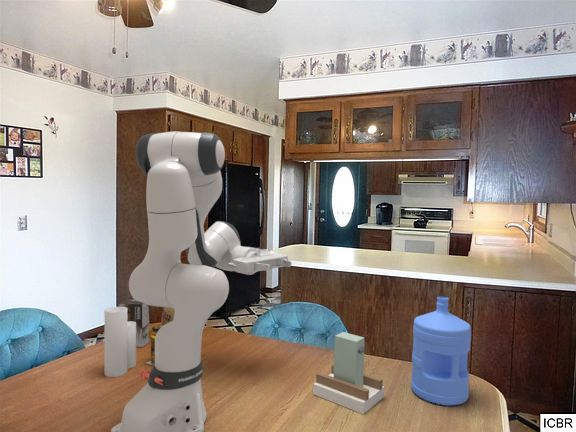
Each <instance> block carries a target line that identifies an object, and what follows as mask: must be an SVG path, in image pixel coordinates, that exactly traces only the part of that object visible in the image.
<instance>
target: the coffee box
mask: <svg viewBox="0 0 576 432" xmlns="http://www.w3.org/2000/svg"><path fill="white" fill-rule="evenodd" d="M118 307H126V308H127V322H129V321H133V322H136V348H144V347H145V346H146V345H147V344H149V343H151V335H150V305H148V304H145V303H142V302H140V301H137V300H135V299H134V298H133V299H129V298H127V299H126V300H123V301H122V302H120V303H119V305H118Z"/></svg>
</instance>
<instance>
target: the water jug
mask: <svg viewBox="0 0 576 432" xmlns="http://www.w3.org/2000/svg"><path fill="white" fill-rule="evenodd" d="M436 299H437V301H436V309H435V310H434V311H431V312H428V313H425V314H422V315H418V316H416V317H415V318H414V319H413V325H412V332H413V333H412V334H413V337H412V338H413V340H412V342H413V343H412V354H411V362H412V363H411V364H412V369H411V370H412V371H411V374H412V375H411V380H410V381H411V382H410V387H411V390H412V392H413V393H414V394H415V395H416V396H417V397H419V398H420V399H422V400H425V401H426V402H429V403H431V402H432V403H431V404H435V403H436V405H440V404H441V406H459V405H462V404H464V403H466V402H467V401H468V399H469V397H470V396H469V395H470V390H469V389H470V388H469V383H470V381H469V380H470V379H469V378H470V373H469V371H468V353H469V352H470V351H471V341H472V328H471V325H470V324H469V323H468V322H467V321H465V320H463V319H461V318H459V317H458V316H457V315H454V314H452V313H450V311H449V297H446V296H437V297H436Z"/></svg>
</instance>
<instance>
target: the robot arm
mask: <svg viewBox="0 0 576 432" xmlns="http://www.w3.org/2000/svg"><path fill="white" fill-rule="evenodd" d="M134 150H135V151H134V154H135V155H134V156H135V161H136V163H137V165H138V167H139V169H140V171H142V173H143V174H144V175H145V176H146V178H147V180H146V188H145V189H146V190H145V191H146V193H145V198H146V199H145V200H146V214H147V224H148V248H147V251H146V254H145V256H144V259H143V260H142V261H141V263H140V264H138V266H136V267H135V268H134V270H133V271H132V272H131V274H130V277H129V280H128V290H129V292H130V295H131V297H132V298H133V299H135V300H137V301H140V302H142V303H145V304H148V305H149V307H150V306H152V307H158V308H159V307H160V308H164V307H167V308H173V309H174V312H175V313H174V319H173V321H171V322H169V323H167V324H165V325H164V326H162V327H161V328H160V329H159V330H158V332H157V334H156V336H155V363H154V365H152V367H151V370H147V368H141V370H140V371H139V372H138V377H140V378H142V379H143V380H147V382H146V383H145V384H144V386H142V388H140V390H139V391H138V392H137V393H136V394H135V395H134V396H133V397H132V398H131V399H130V400H129V402H127V403H126V405H125V406H124V408H123V411H122V416H121V422H119V423H118V424H116V425H114V426H113V427H111V431H110V432H204V431H205V427H204V425H205V424H204V423H205V422H206V420H207V417H208V416H207V410H206V408H205V403H204V397H203V388H202V377H203V361H202V357H201V355H202V342H203V341H202V338H203V331H204V328H205V326H206V324H207V322H208V319H209V318H210V317H211V315H213V313H215V312H217V310H219V309H220V308H221V307H222V306H223V305H224V303H225V302H226V300H227V299H228V296H229V292H230V285H229V284H230V283H229V280H228V277H227V276H226V274H225V272H224V271H229V272H236V273H239V274H243V275H247V276H250V275H254V274H255V273H257V272H261V271H264V272H268V271H269V272H270V271H272V270H273V269H279V268H283V267H285V268H289V267H290V268H291V267H292V261H291V260H289V256H288V255H287V254H284V253H281V252H276V251H270V250H269V249H268V248H257V247H252V246H243V245H241V244H242V243H241V239H240V235H239V232H238V230H237V229H236V227H235V226H234V225H233V224H231V223H230V222H226V221H222V220H217V221H215V222H214V223H213V224H212V225H211V226H210V227H208V229H207V230H206V231H205V227H204V225H205V221H206V218H207V216H208V214H209V213H210V211H211V210H212V208H213V207H214V205H215V204H216V202H217V201H218V199H219V198H220V196H221V195H222V191H223V177H222V172H221V170H222V169H223V166H224V164H225V158H226V152H225V151H226V150H225V146H224V143H223V140H222V138H220V137H219V136H218V135H217V134H215V133H212V132H206V131H203V132H193V131H190V132H189V131H178V130H177V131H166V132H158V133H157V132H151V133H147V134H145V135H142V136H140V138H139V139H138V140H137V142H136V145H135V149H134ZM183 251H186V252H185V253H186V260H187V262H188V263H182V260H181V255H182V252H183ZM215 267H216V268H215ZM222 270H223V271H222Z"/></svg>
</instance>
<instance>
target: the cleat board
mask: <svg viewBox="0 0 576 432" xmlns="http://www.w3.org/2000/svg"><path fill="white" fill-rule="evenodd" d="M383 381H384V380H383V379H382V378H380V377H376V376H373V375H369V374H367V373H364V374H363V387H360V386H357V385H354V384H351V383H349V382H346V381H343V380H340V379H337V378H334V363H333V364H331V373H330V374H326V373H323V372H319V371H318V372H317V373H316V377H315V382H314V383H313V389H312V390H313V392H312V394H313V395H315V397H316V396H317V397H320V398H322V399H324V400H327V401H329V402H332V403H334V404H337V405H339V406H343V407H344V408H347V409H350V410H352V411H355V412H357V413H359V414H362V415H364V414H365V413H367V412H368V411H369V410H370V409H372V408H373V407H374V406H375V405H376V404H378V403H379V402H380V401H381V400H382V399H384V398H385V386H383Z"/></svg>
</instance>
